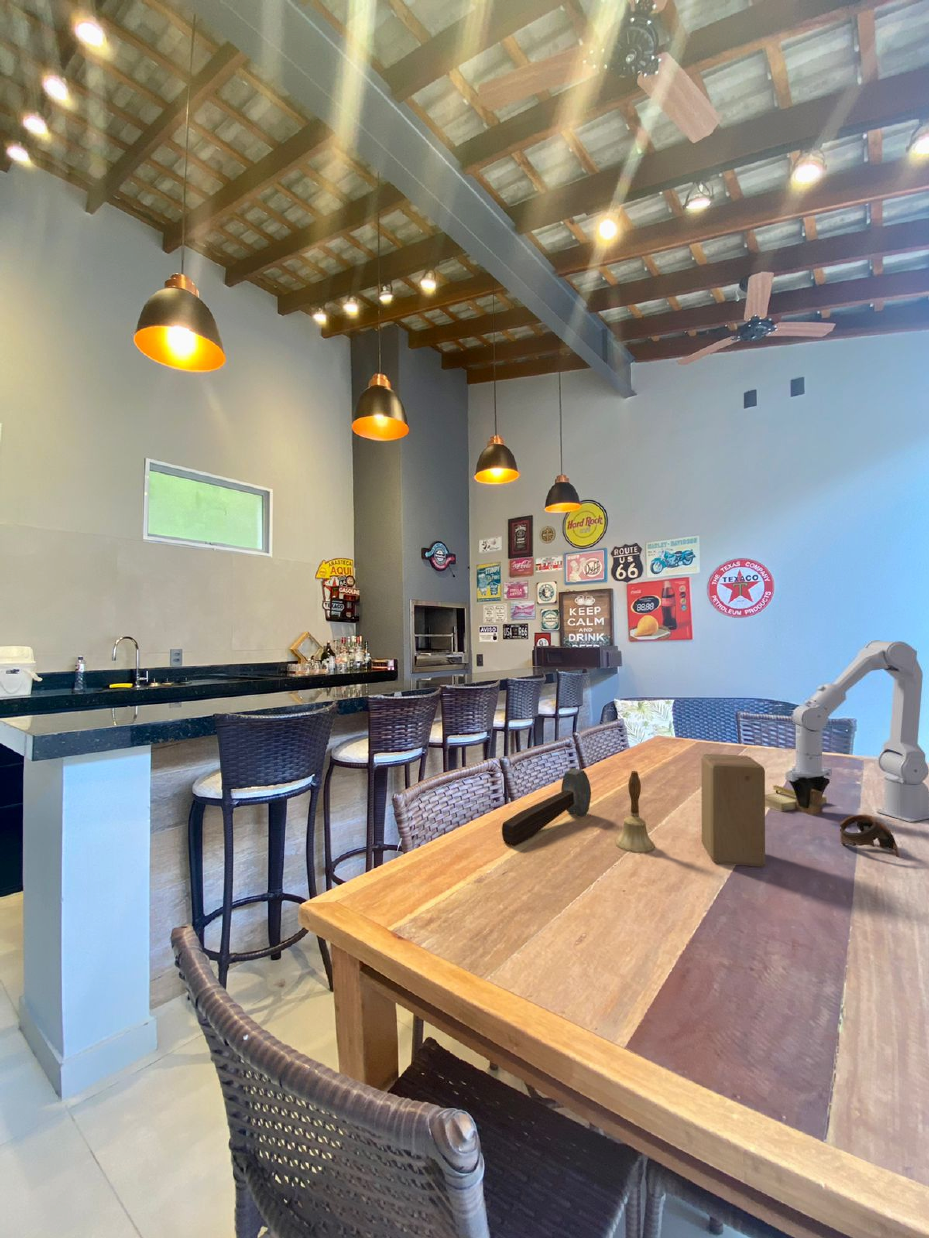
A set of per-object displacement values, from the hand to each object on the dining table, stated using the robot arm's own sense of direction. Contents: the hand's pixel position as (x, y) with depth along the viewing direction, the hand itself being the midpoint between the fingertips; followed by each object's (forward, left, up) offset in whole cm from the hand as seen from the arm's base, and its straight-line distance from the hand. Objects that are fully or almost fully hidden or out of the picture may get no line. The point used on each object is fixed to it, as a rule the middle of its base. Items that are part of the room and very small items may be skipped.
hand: (808, 806), depth 137 cm
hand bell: (+56, +1, -2) cm, 56 cm away
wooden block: (+41, +13, -2) cm, 43 cm away
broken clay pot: (+10, +20, -2) cm, 23 cm away
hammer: (+68, -15, -2) cm, 70 cm away
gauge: (0, -4, -1) cm, 4 cm away
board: (-2, -6, -1) cm, 6 cm away
